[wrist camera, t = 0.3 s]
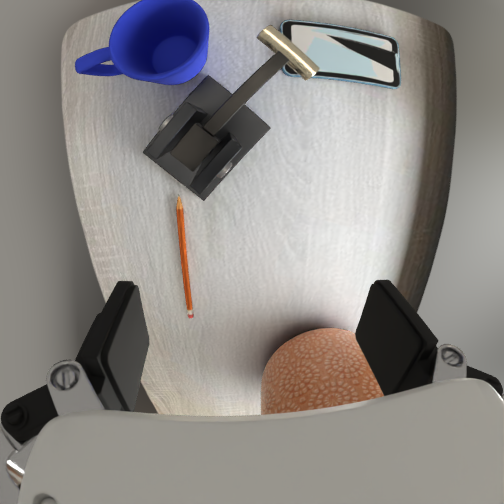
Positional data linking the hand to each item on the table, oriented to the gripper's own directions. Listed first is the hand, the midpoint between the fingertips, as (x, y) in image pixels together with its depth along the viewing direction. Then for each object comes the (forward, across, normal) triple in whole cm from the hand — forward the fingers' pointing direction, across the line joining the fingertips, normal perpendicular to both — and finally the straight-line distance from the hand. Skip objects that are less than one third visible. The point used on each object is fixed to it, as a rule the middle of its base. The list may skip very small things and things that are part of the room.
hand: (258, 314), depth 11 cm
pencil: (+24, +6, +10) cm, 27 cm away
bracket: (+23, +4, -5) cm, 24 cm away
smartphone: (+24, -12, -17) cm, 31 cm away
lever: (+14, +1, -9) cm, 16 cm away
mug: (+24, +9, -14) cm, 29 cm away
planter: (+24, -14, +29) cm, 40 cm away
